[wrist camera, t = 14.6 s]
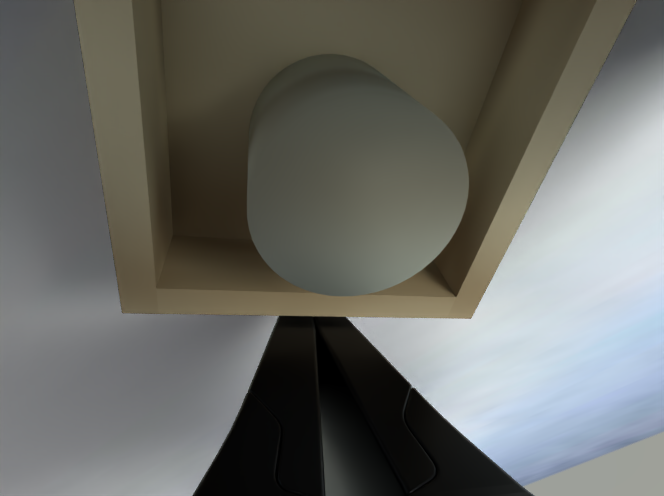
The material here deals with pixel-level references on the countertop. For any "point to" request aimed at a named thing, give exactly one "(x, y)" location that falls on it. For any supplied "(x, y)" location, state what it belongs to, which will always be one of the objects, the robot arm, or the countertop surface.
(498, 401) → the countertop surface
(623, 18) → the tan wooden rectangular tray
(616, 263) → the countertop surface
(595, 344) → the countertop surface
